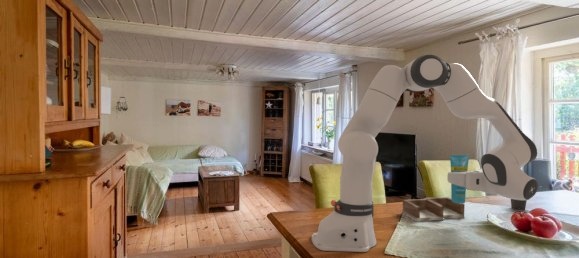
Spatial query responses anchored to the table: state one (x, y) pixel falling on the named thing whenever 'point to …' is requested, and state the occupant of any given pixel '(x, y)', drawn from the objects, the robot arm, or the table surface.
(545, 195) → the table surface
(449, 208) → the endcap
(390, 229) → the table surface
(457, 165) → the tube
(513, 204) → the coffee cup
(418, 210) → the brown wooden open box
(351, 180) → the robot arm
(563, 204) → the table surface
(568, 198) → the table surface
